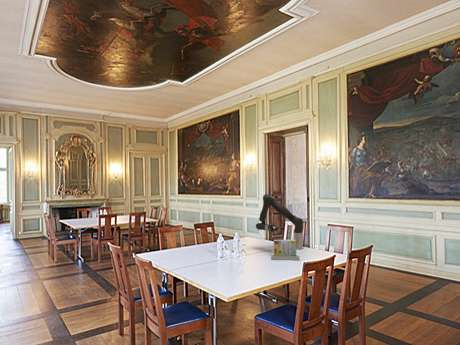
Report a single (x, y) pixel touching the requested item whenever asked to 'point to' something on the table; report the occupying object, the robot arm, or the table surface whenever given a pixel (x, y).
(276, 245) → the snack box
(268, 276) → the table surface
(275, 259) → the mat
